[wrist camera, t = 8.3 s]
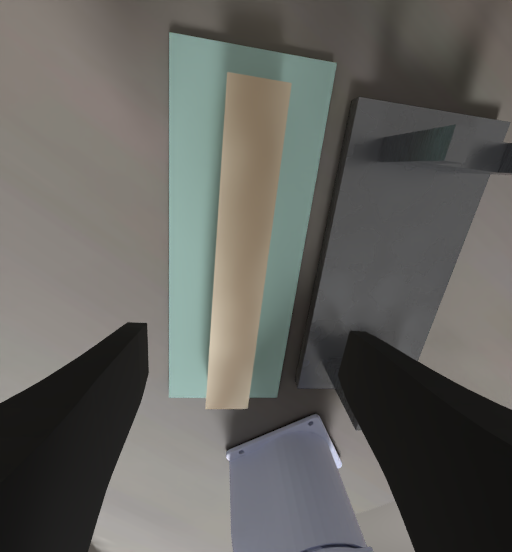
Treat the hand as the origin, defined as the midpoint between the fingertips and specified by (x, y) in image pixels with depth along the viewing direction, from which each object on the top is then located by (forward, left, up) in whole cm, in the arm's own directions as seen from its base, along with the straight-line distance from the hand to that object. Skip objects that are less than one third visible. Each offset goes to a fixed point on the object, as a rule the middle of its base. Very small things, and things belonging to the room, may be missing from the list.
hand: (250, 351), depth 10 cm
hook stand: (+10, -5, -10) cm, 15 cm away
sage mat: (0, 0, -10) cm, 10 cm away
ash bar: (0, 0, -10) cm, 10 cm away
